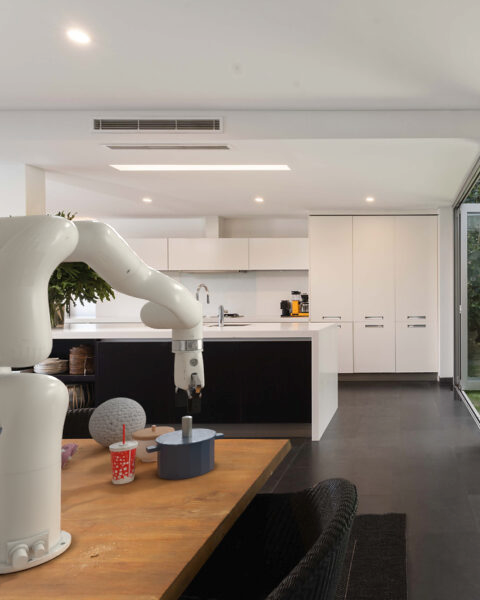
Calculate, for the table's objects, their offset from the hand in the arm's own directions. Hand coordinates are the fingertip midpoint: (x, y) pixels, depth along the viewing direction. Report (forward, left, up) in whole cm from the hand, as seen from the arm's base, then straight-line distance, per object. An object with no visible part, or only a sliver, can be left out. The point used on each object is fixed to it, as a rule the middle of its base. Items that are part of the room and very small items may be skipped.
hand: (187, 409), depth 120 cm
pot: (0, 0, -16) cm, 16 cm away
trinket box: (+16, +4, -16) cm, 23 cm away
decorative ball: (+36, +9, -16) cm, 40 cm away
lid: (0, 0, -7) cm, 7 cm away
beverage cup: (+3, +14, -16) cm, 22 cm away
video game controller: (+26, +24, -16) cm, 39 cm away
